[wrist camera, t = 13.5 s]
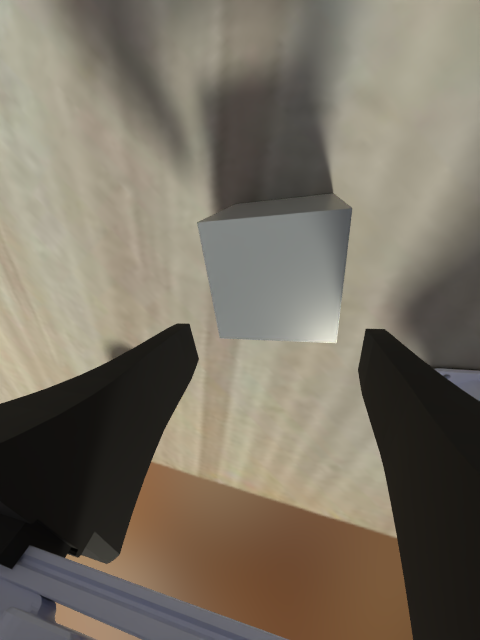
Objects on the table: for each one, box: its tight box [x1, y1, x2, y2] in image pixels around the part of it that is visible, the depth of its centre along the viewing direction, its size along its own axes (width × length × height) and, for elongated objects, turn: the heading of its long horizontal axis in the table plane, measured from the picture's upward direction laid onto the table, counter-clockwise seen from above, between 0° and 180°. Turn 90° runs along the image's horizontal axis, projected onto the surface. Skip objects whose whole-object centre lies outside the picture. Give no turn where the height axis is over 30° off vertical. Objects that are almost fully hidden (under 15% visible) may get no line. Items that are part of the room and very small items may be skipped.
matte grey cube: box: [197, 193, 352, 343], centre depth 13 cm, size 6×6×7 cm
